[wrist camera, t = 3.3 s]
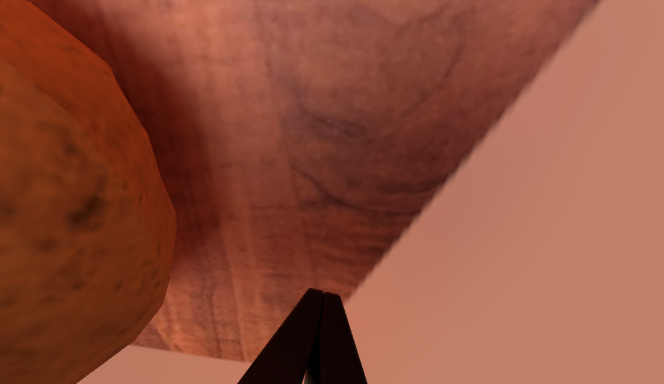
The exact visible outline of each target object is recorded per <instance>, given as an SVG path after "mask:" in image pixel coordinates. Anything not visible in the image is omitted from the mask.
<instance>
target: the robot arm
mask: <svg viewBox="0 0 664 384" xmlns="http://www.w3.org/2000/svg"><path fill="white" fill-rule="evenodd" d="M305 372H306V373H305ZM304 375H305V379H304V384H367V381H366V377H365V374H364V371H363V368H362V364H361V361H360V358H359V355H358V351H357V348H356V345H355V342H354V339H353V335H352V333H351V329H350V326H349V323H348V319H347V316H346V313H345V310H344V307H343V303H342V300H341V297H340V296H339V295H338V294H334V293H330V292H325V293H324V292H323V291H322V290H318V289H314V288H309V289H308V290H307V291H306V293H305V294H304V295H303V297H302V298H301V299H300V301H299V302H298V303H297V305H296V306H295V307H294V309H293V310H292V311H291V313H290V314H289V315H288V317H287V318H286V319H285V321H284V322H283V323H282V325H281V326H280V327H279V329H278V330H277V331H276V333H275V334H274V335H273V337H272V338H271V339H270V341H269V342H268V343H267V345H266V346H265V347H264V349H263V350H262V351H261V353H260V354H259V355H258V357H257V358H256V359H255V361H254V362H253V363H252V365H251V366H250V367H249V369H248V370H247V371H246V373H245V374H244V375H243V377H242V378H241V379H240V381H239V382H238V383H237V384H302V382H303V378H304Z"/></svg>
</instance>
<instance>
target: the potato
mask: <svg viewBox="0 0 664 384" xmlns="http://www.w3.org/2000/svg"><path fill="white" fill-rule="evenodd" d="M176 215H177V214H176V211H175V209H174V207H173V204H172V202H171V199H170V197H169V195H168V192H167V190H166V188H165V185H164V183H163V181H162V178H161V175H160V172H159V169H158V166H157V162H156V159H155V156H154V153H153V150H152V146H151V143H150V140H149V137H148V134H147V132H146V131H145V129H144V127H143V126H142V124H141V123H140V121H139V119H138V118H137V116H136V114H135V113H134V111H133V109H132V108H131V106H130V104H129V103H128V101H127V99H126V98H125V96H124V94H123V93H122V91H121V89H120V88H119V85H118V83H117V81H116V79H115V76H114V74H113V72H112V70H111V68H110V65H109V64H108V63H106V62H105V61H104V60H103V59H101V58H100V57H99V56H98V55H96V54H95V53H94V52H93V51H91V50H90V49H89V48H87V47H86V46H85V45H84V44H82V43H81V42H80V41H79V40H77V39H76V38H75V37H74V36H72V35H71V34H70V33H69V32H67V31H66V30H65V29H64V28H62V27H61V26H60V25H59V24H57V23H56V22H55V21H53V20H52V19H51V18H50V17H48V16H47V15H46V14H45V13H43V12H42V11H41V10H40V9H38V8H37V7H36V6H35V5H33V4H32V3H31V2H29V1H26V0H0V384H76V383H78V382H79V381H80V380H82V379H83V378H84V377H86V376H87V375H88V374H90V373H91V372H93V371H94V370H95V369H97V368H98V367H99V366H101V365H102V364H103V363H105V362H106V361H107V360H109V359H110V358H111V357H113V356H114V355H115V354H117V353H118V352H119V351H121V350H122V349H124V348H125V347H126V346H128V345H129V344H130V343H132V342H133V341H134V340H135V339H136V338H137V337H138V335H139V334H140V333H141V332H142V330H143V329H144V328H145V327H146V325H147V324H148V323H149V322H150V320H151V319H152V318H153V317H154V315H155V314H156V313H157V312H158V310H159V309H160V308H161V306H162V305H163V302H164V298H165V294H166V290H167V287H168V283H169V279H170V272H171V263H172V258H173V253H174V248H175V243H176Z"/></svg>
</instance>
